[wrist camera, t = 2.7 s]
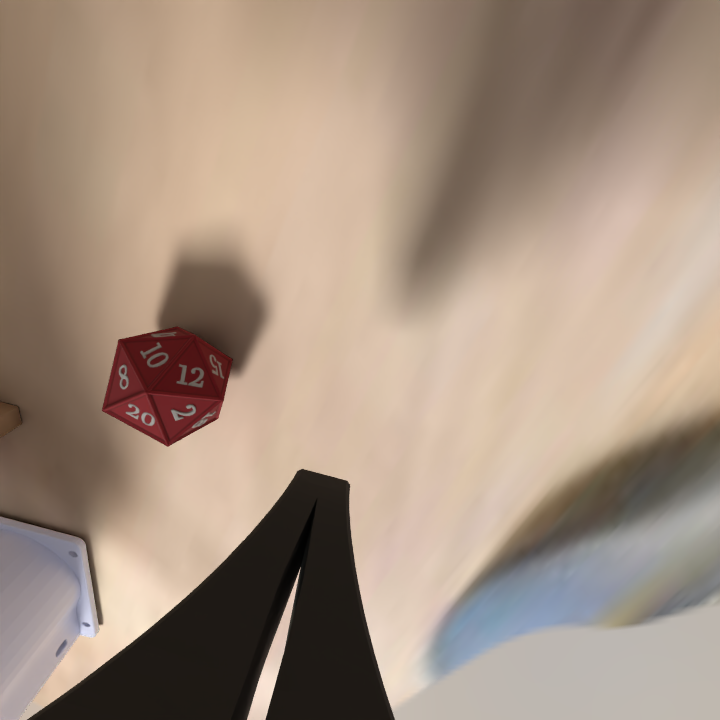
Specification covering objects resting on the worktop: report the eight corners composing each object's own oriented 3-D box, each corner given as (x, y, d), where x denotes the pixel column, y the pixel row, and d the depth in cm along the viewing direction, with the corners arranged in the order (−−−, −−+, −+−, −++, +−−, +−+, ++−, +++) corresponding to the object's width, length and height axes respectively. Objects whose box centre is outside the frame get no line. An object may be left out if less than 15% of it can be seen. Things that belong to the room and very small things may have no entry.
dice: (141, 373, 16) (63, 431, 12) (176, 286, 14) (95, 325, 10) (222, 419, 17) (169, 487, 13) (266, 341, 15) (218, 396, 11)
